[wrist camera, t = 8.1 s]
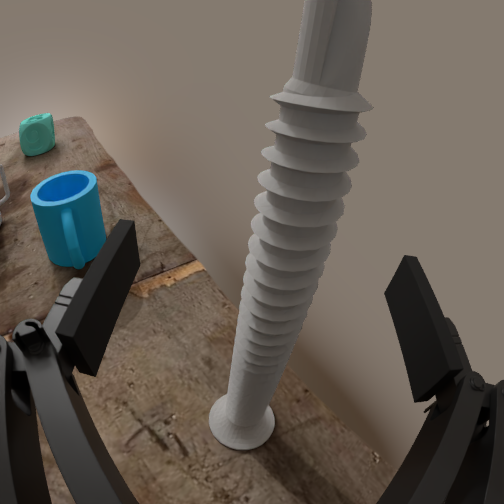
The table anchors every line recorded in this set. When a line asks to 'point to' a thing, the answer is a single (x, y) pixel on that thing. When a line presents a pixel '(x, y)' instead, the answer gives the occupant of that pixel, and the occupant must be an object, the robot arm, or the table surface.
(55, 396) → the robot arm
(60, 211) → the mug
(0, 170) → the mug
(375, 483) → the table surface
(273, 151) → the screw
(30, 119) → the decorative dice
